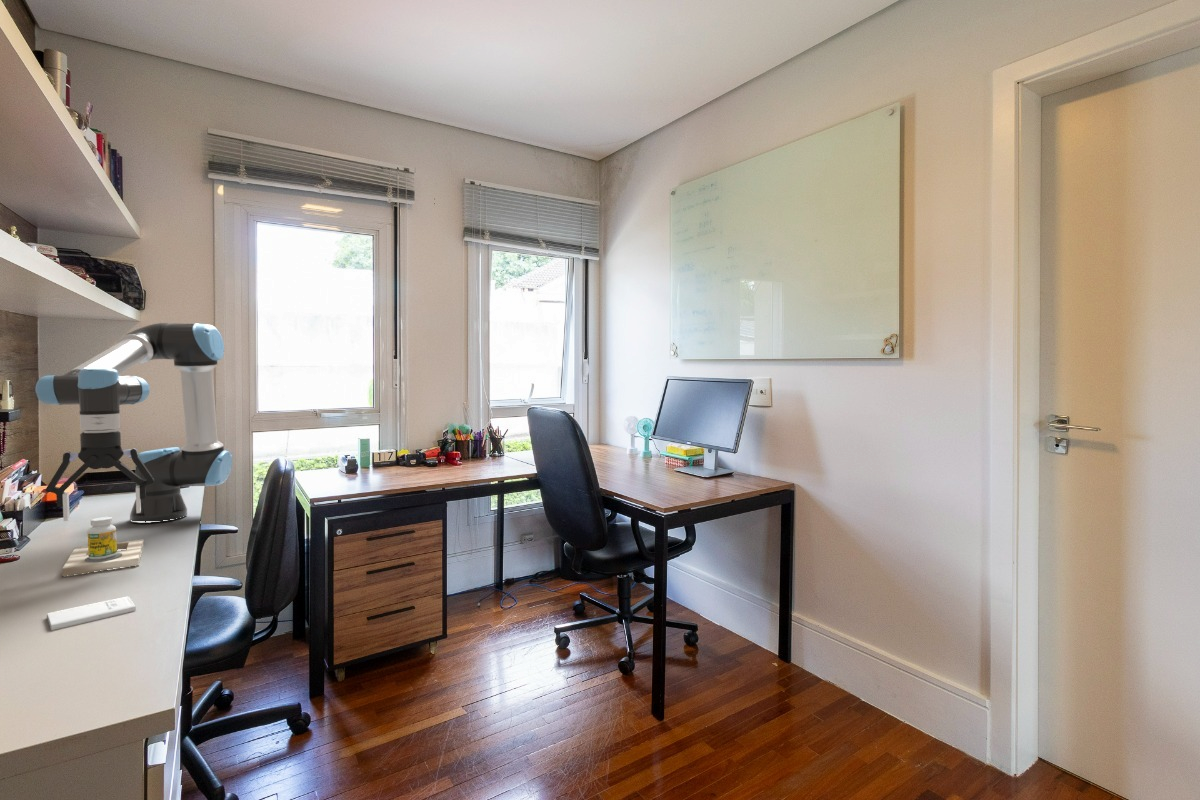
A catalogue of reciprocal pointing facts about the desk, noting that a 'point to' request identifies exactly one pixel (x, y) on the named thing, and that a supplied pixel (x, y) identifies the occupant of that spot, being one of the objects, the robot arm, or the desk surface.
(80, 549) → the puzzle board
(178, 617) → the desk surface
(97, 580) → the desk surface
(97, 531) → the supplement bottle
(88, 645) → the desk surface
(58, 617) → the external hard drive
